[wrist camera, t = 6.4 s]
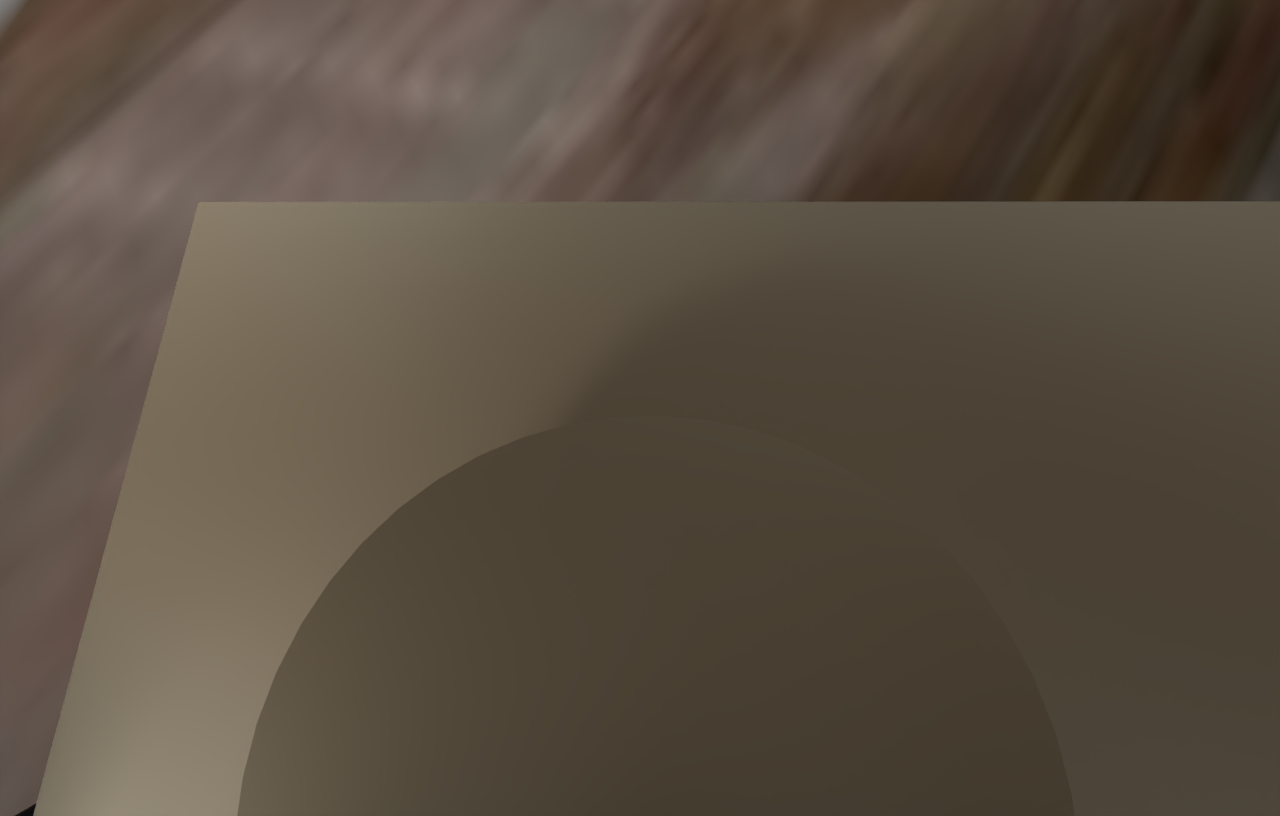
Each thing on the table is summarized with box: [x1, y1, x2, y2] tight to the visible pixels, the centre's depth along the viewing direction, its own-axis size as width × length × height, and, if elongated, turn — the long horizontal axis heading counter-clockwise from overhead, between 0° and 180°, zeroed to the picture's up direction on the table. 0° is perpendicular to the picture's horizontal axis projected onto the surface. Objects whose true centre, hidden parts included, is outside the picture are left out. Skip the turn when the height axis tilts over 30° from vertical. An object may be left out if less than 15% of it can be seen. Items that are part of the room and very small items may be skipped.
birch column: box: [33, 201, 1280, 816], centre depth 9 cm, size 5×5×13 cm
